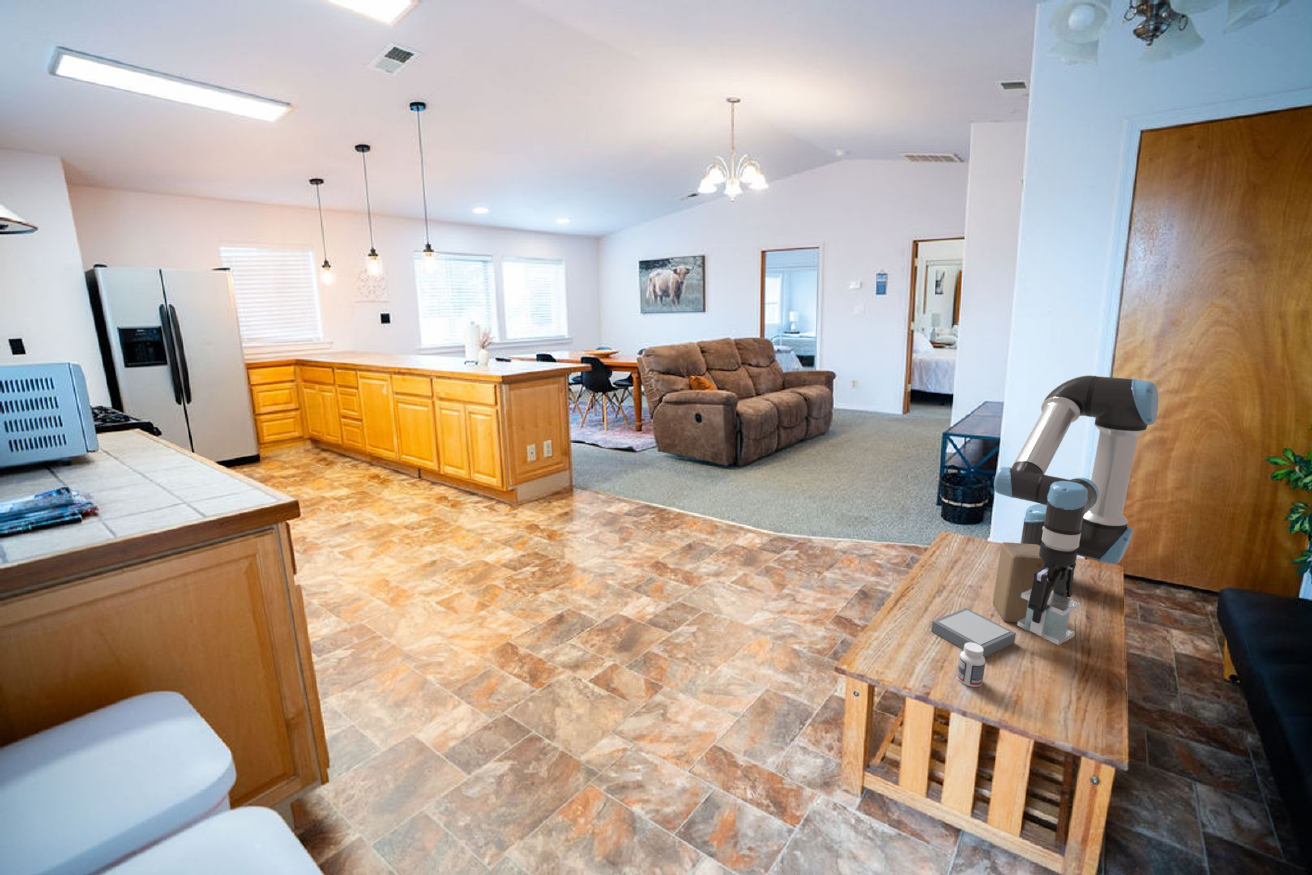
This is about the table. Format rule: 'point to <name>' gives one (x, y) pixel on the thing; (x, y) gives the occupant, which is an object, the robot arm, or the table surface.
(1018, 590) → the wooden block
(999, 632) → the stand
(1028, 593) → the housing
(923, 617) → the table surface
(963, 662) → the pill bottle
